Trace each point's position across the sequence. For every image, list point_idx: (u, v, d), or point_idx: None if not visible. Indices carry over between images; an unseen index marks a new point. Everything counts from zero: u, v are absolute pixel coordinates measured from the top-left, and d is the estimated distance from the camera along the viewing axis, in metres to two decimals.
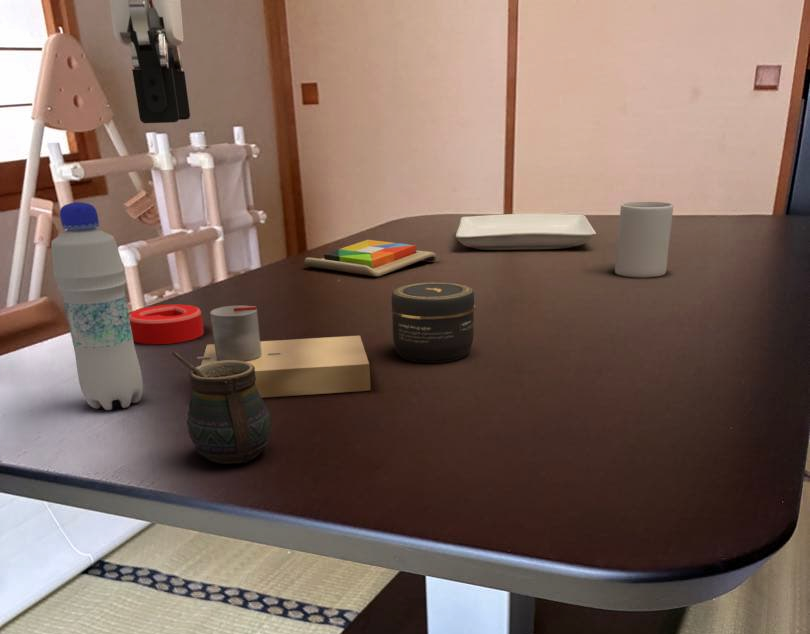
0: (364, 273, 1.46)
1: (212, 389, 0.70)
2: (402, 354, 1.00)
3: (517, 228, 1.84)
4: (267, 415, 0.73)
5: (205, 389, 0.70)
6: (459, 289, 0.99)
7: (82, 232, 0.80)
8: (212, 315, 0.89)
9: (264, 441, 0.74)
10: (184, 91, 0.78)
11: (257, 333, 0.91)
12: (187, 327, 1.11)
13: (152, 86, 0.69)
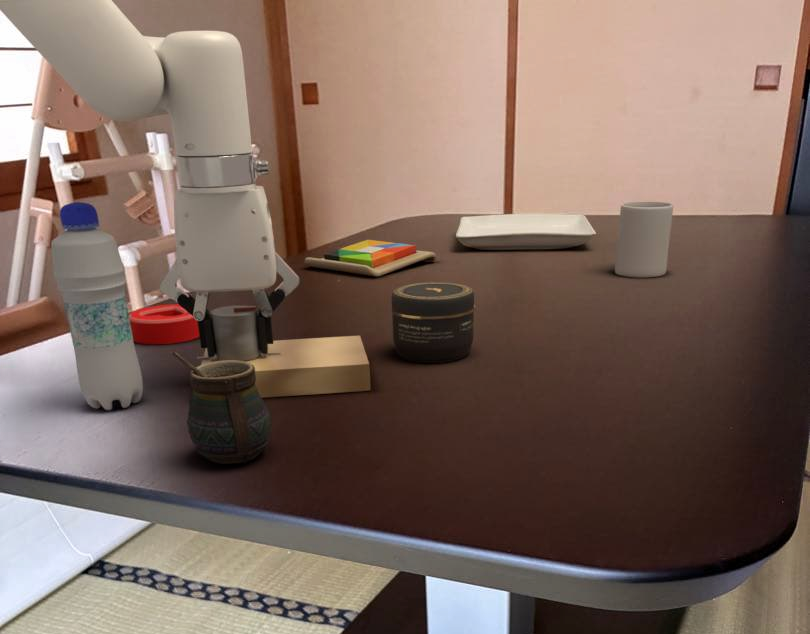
0: (364, 273, 1.46)
1: (212, 389, 0.70)
2: (402, 354, 1.00)
3: (517, 228, 1.84)
4: (267, 415, 0.73)
5: (205, 389, 0.70)
6: (459, 289, 0.99)
7: (82, 231, 0.80)
8: (212, 315, 0.89)
9: (264, 441, 0.74)
10: (259, 333, 0.91)
11: (257, 333, 0.91)
12: (187, 327, 1.11)
13: None
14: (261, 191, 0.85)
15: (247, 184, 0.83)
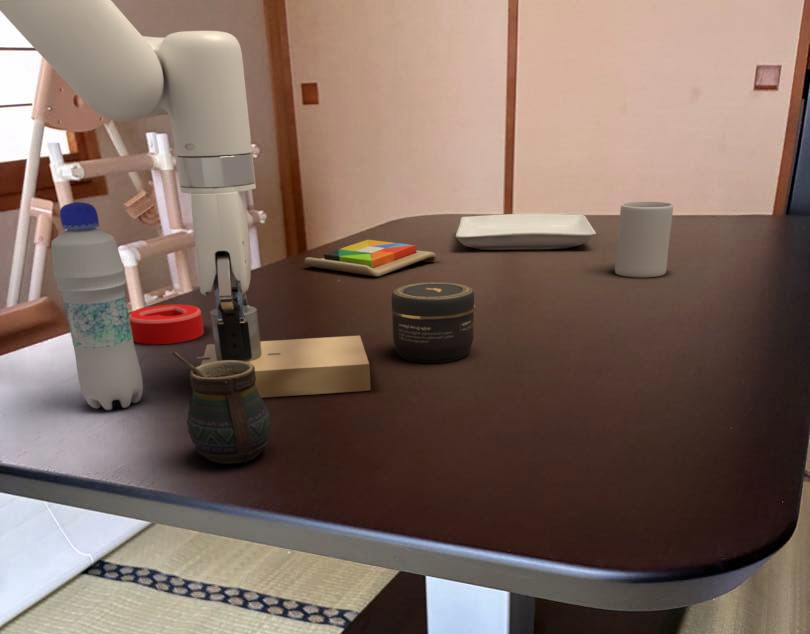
0: (364, 273, 1.46)
1: (212, 389, 0.70)
2: (402, 354, 1.00)
3: (517, 228, 1.84)
4: (267, 415, 0.73)
5: (205, 389, 0.70)
6: (459, 289, 0.99)
7: (82, 231, 0.80)
8: None
9: (264, 441, 0.74)
10: None
11: None
12: (187, 327, 1.11)
13: (232, 337, 0.88)
14: None
15: None
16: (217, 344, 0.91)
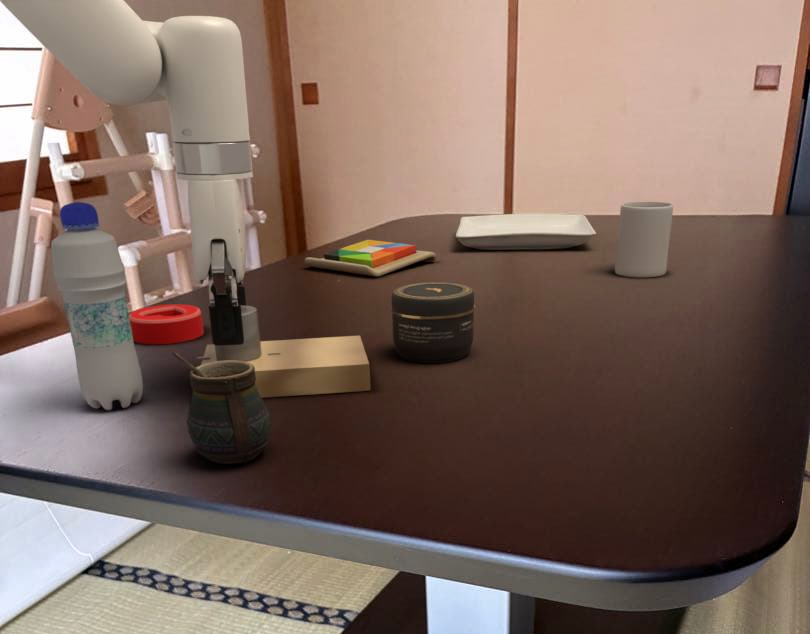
0: (364, 273, 1.46)
1: (212, 389, 0.70)
2: (402, 354, 1.00)
3: (517, 228, 1.84)
4: (267, 415, 0.73)
5: (205, 389, 0.70)
6: (459, 289, 0.99)
7: (82, 231, 0.80)
8: (243, 315, 0.89)
9: (264, 441, 0.74)
10: (244, 302, 0.95)
11: None
12: (187, 327, 1.11)
13: (224, 320, 0.85)
14: None
15: None
16: None
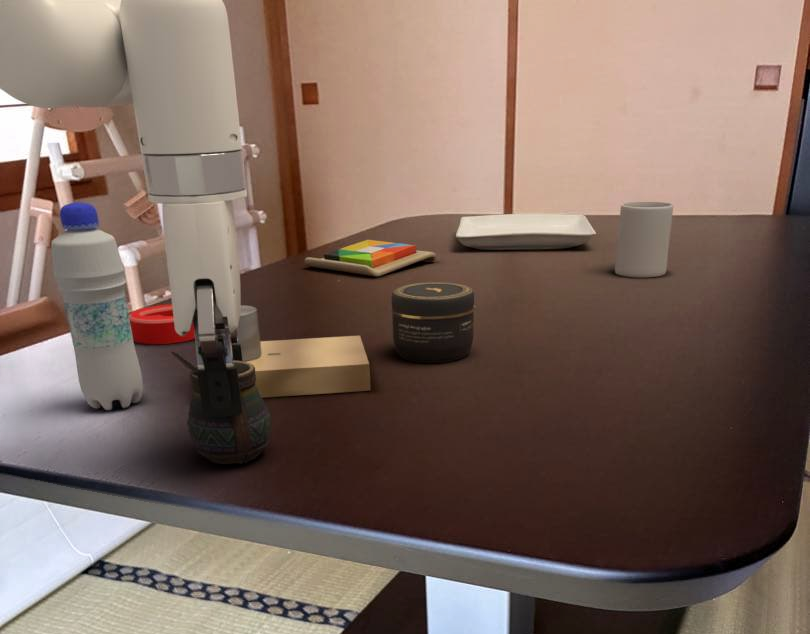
0: (364, 273, 1.46)
1: None
2: (402, 354, 1.00)
3: (517, 228, 1.84)
4: (267, 415, 0.73)
5: None
6: (459, 289, 0.99)
7: (82, 232, 0.80)
8: (243, 315, 0.89)
9: (264, 441, 0.74)
10: None
11: None
12: None
13: (217, 387, 0.68)
14: None
15: None
16: None
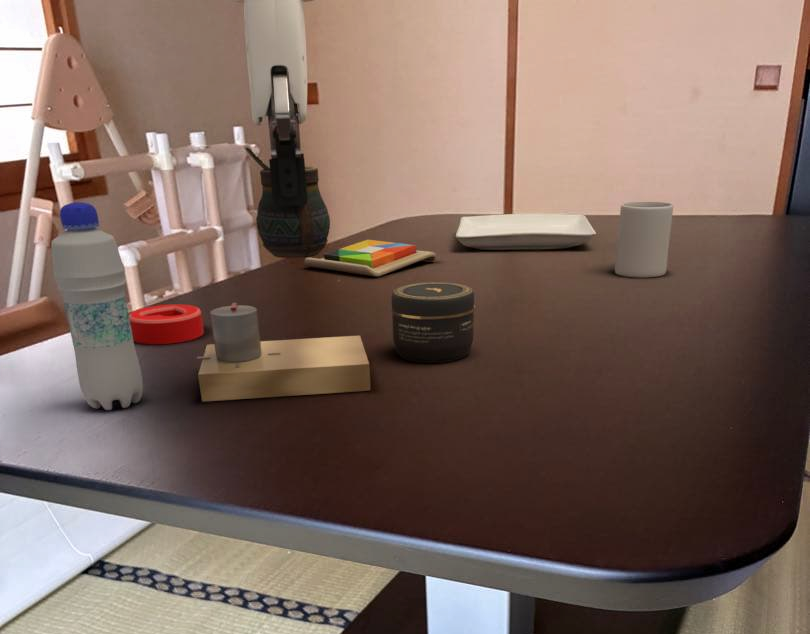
0: (364, 273, 1.46)
1: None
2: (402, 354, 1.00)
3: (517, 228, 1.84)
4: (328, 214, 0.82)
5: None
6: (459, 289, 0.99)
7: (82, 232, 0.80)
8: (243, 315, 0.89)
9: (325, 238, 0.82)
10: None
11: None
12: (187, 327, 1.11)
13: (287, 174, 0.76)
14: None
15: None
16: (217, 344, 0.91)
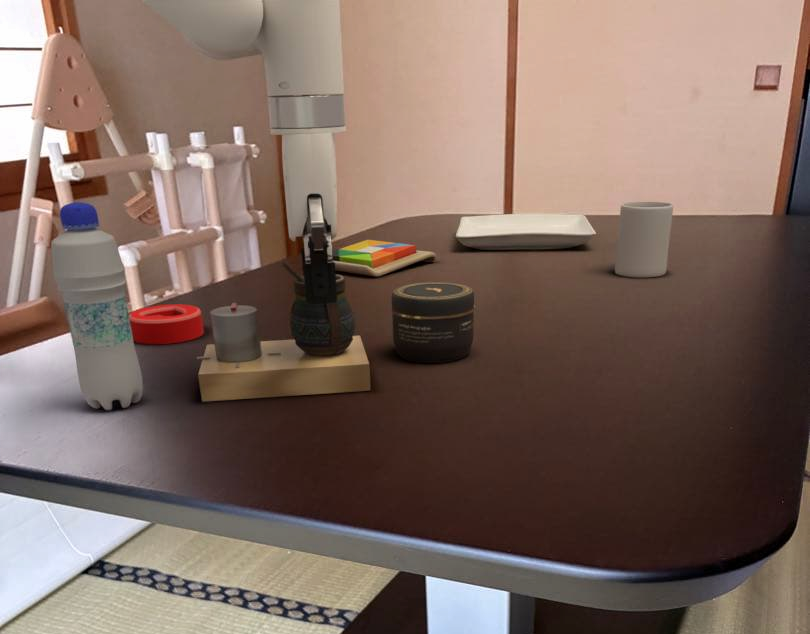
0: (364, 273, 1.46)
1: None
2: (402, 354, 1.00)
3: (517, 228, 1.84)
4: (353, 317, 0.92)
5: None
6: (459, 289, 0.99)
7: (82, 231, 0.80)
8: (243, 315, 0.89)
9: (351, 338, 0.92)
10: None
11: None
12: (187, 327, 1.11)
13: (319, 277, 0.85)
14: None
15: None
16: (217, 344, 0.91)
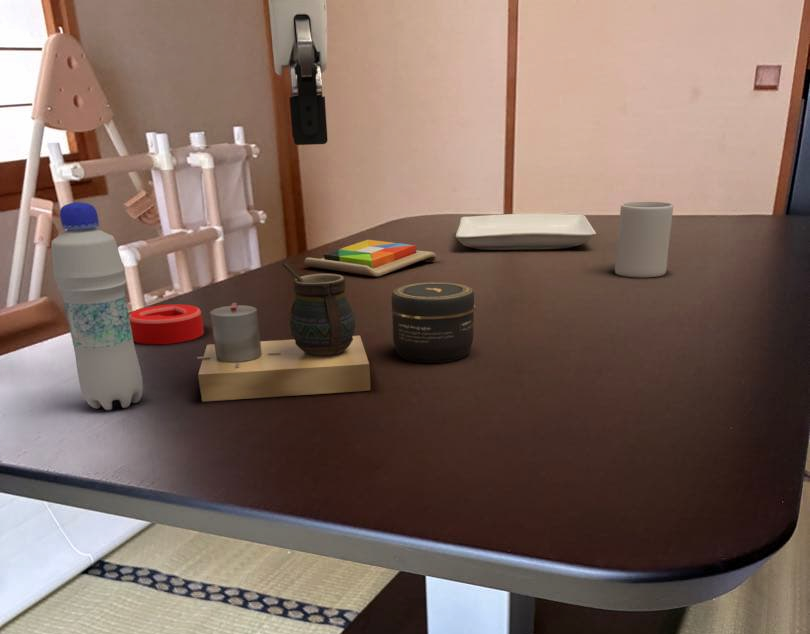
0: (364, 273, 1.46)
1: (314, 292, 0.88)
2: (402, 354, 1.00)
3: (517, 228, 1.84)
4: (353, 317, 0.92)
5: (308, 293, 0.88)
6: (459, 289, 0.99)
7: (82, 231, 0.80)
8: (243, 315, 0.89)
9: (351, 338, 0.92)
10: None
11: None
12: (187, 327, 1.11)
13: (308, 112, 0.78)
14: None
15: None
16: (217, 344, 0.91)
